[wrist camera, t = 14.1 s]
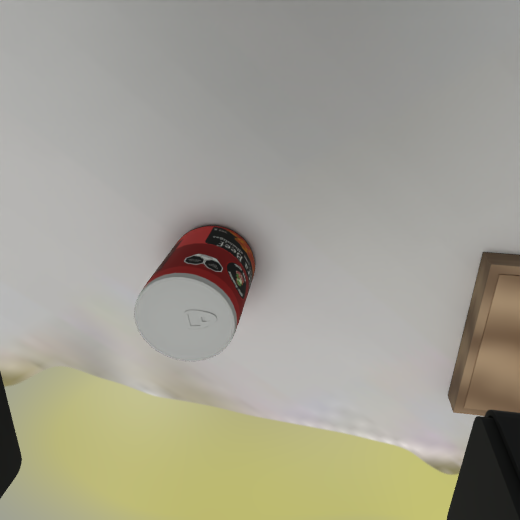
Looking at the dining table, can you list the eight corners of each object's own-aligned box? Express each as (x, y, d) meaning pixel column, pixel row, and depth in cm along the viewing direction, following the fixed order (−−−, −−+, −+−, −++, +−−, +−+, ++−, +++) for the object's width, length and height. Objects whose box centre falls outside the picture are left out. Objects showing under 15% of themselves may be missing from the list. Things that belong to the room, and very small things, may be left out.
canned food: (269, 280, 47) (251, 347, 37) (197, 305, 49) (163, 373, 39) (235, 210, 44) (206, 261, 35) (161, 239, 47) (114, 295, 37)
